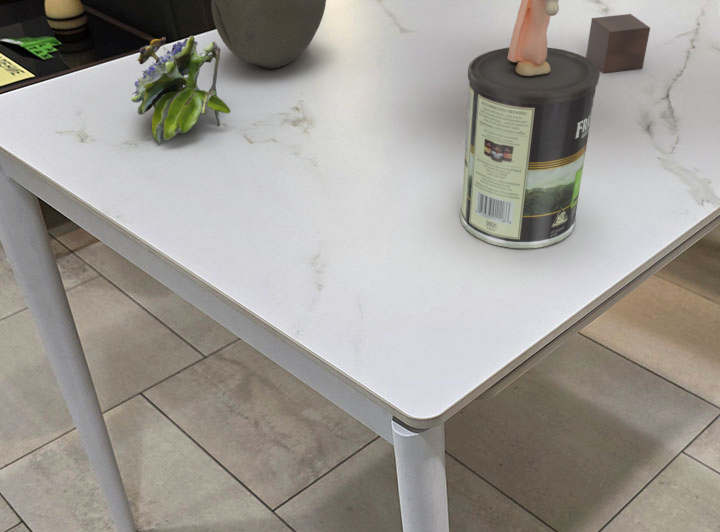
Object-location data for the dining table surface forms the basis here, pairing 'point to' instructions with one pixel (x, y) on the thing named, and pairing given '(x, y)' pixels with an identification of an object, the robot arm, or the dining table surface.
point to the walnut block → (617, 43)
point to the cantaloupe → (267, 28)
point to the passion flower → (176, 87)
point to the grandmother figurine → (532, 36)
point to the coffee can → (525, 148)
